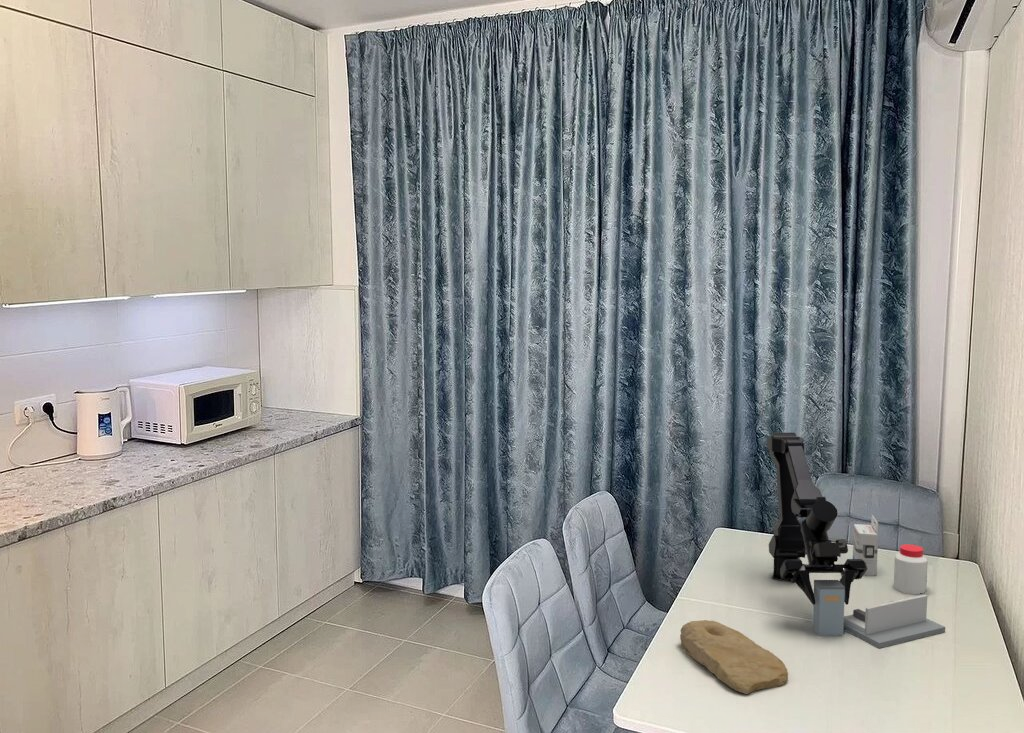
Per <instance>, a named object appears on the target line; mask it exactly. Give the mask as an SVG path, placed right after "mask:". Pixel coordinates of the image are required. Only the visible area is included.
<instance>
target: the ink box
mask: <svg viewBox="0 0 1024 733" xmlns="http://www.w3.org/2000/svg"><path fill="white" fill-rule="evenodd" d="M870 521H871V524H857V523H854V524H853V539H852V540H853V541H852V542H853V543H852V544H853V545H852V559H862V560H863V561H864V562H865V563H866V565H867V571H866V572H865V574H864V575H863V576H874V575H876V576H877V574H878V573H877V572H878V571H877V570H878V548H879V547H878V546H879V522H878V521H877V519H876V517H875V516H874V515H873V514H871V520H870Z"/></svg>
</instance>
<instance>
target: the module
mask: <svg viewBox="0 0 1024 733" xmlns="http://www.w3.org/2000/svg"><path fill="white" fill-rule="evenodd" d="M813 593H814V596H815V605H813V604H812V607H813V608H812V628H813V630H814V631H815V632H816V633H817V635H818V636H844V629H843V627H844V616H845V602H844V599H845V587H844V586H843V585H842V584H841V583H840V579H813Z"/></svg>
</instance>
